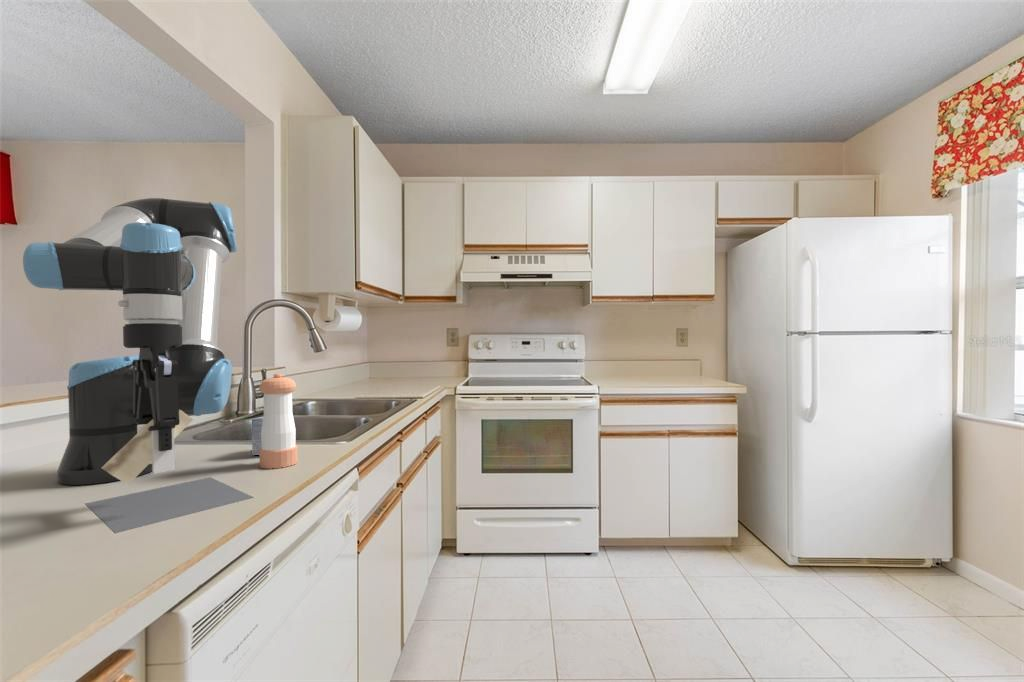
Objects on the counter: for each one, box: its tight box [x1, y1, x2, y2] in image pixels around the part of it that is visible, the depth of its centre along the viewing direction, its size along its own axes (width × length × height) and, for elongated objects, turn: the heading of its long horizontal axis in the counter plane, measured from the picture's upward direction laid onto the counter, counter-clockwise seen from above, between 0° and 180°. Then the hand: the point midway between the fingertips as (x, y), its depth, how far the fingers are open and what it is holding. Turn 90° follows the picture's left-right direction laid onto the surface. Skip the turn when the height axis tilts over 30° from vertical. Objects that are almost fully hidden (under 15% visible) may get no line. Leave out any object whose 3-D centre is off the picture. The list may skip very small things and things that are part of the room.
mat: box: [84, 477, 255, 534], centre depth 78 cm, size 19×18×1 cm
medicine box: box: [251, 415, 264, 457], centre depth 112 cm, size 8×4×9 cm, turn 168°
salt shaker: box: [258, 373, 299, 470], centre depth 101 cm, size 7×7×19 cm
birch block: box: [102, 410, 194, 486], centre depth 75 cm, size 7×2×12 cm
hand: (155, 467), depth 76 cm, fingers closed on birch block, 7 cm apart
